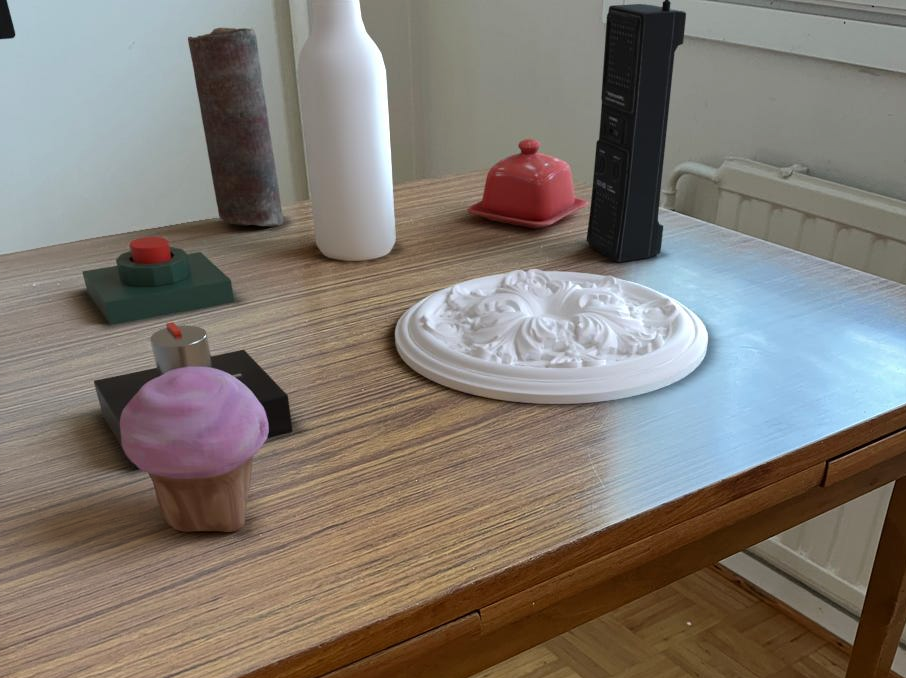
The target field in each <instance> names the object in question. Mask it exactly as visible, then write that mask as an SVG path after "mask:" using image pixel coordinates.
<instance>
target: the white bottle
mask: <svg viewBox="0 0 906 678" xmlns="http://www.w3.org/2000/svg"><path fill="white" fill-rule="evenodd" d="M298 56H299V57H298V65H297V80H298V81H297V82H298V90H299V91H298V93H299V99H300V100H299V101H300V107H301V108H300V109H301V117H302V118H301V119H302V128H303V137H304V146H305V155H306V165H307V166H306V167H307V172H308V173H307V174H308V183H309V192H310V200H311V201H310V202H311V211H312V220H313V230H314V238H315V239H314V240H315V244H316V247H317V248H318V249H319V251H320V252H321V254H322V255H323V256H325V257H327V258H330V259H333V260H338V261H339V260H340V261H345V262H347V261H348V262H354V261H355V262H359V261H360V262H361V261H368V260H369V261H370V260H374V259H378V258H381V257H384V256H386V255H388V254H389V253H390V252H391V251H392V250H393V248H394V246H395V244H396V241H397V240H396V239H397V237H396V219H395V203H394V186H393V169H392V151H391V136H390V135H391V134H390V118H389V117H390V116H389V102H388V99H389V98H388V84H387V83H388V82H387V70H386V66H385V63H384V58H383V55H382V52H381V50H380V49H379V47H378V46H377V44H376V43H375V42H374V40H373V39H372V37H370V35H369V33H368V32H367V30H366V28H365V24H364V22H363V19H362V12H361V4H360V0H312V25H311V30H310V34H309V36H308V38H307V39H306V41H305V43H304V44H303V46H302V48H301V50H300V53H299V55H298Z"/></svg>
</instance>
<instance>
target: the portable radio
mask: <svg viewBox="0 0 906 678" xmlns="http://www.w3.org/2000/svg"><path fill="white" fill-rule="evenodd" d="M671 4H672V3H671V1H670V0H664V1H662V6H659V5H654V4H645V3H632V4H631V3H630V4H617V5H616V4H615V5H610V6H609V7H608V13H607V14H606V21H605V24H606V25H605V39H604V54H603V68H602V82H601V96H600V97H601V99H600V100H601V105H600V106H601V108H600V121H599V135H598V140H597V141H596V143H595V144H596V145H595V155H594V157H595V158H594V165H593V177H592V178H593V179H592V188H591V198H590V206H589V207H590V209H589V217H588V224H587V232H586V240H585V241H586V242H587V243H588V246H590V247H591V248H592V249H594V250H595V251H597V252H599V253H601V254H602V255H605V256H606V257H608V258H609V259H611V260H613V261H614V262H617V263H624V262H630V261H637V260H643V259H648V258H652V257H654V256H657V255H659V254H661V251H662V243H663V234H664V225H663V224H661V223H660V222H659V211H660V200H661V191H662V190H661V189H662V181H663V180H662V179H663V170H664V161H665V150H666V140H667V130H668V123H669V111H670V102H671V94H672V93H671V92H672V81H673V73H674V72H673V71H674V63H675V55H676V50H677V49H678V48H679V46H681V45H683V44H684V40H685V39H684V38H685V30H686V20H687V12H686V11H684V10H678V9H673V8H671Z"/></svg>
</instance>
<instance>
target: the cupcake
mask: <svg viewBox="0 0 906 678" xmlns="http://www.w3.org/2000/svg"><path fill="white" fill-rule="evenodd" d="M120 432H121V443H122V447H123V449H124V451H123V453H124V452H125V453H124V454H125V456H126V455H127V456H126V458H127V457H128V458H129V459H130V460H131V461H132V462H133V463H134V464H135V465H136V466H137V467H138V468H139V469H138V470H141V471H143V472H146V473H147V474H148V475H149V477H150V480H151V482H152V485H153V488H154V492H155V497H156V499H157V503H158V506H159V509H160V512H161V515H162V517H163V519H164V521H165V522H166V523H167V524H168V525H169V526H170V527H171V528H173V529H174V530H177V531H180V532H222V533H223V532H224V533H230V532H232V533H233V532H236V531H239V530H241V529H242V528H243V527H244V525H245V523H246V511H247V504H248V497H249V492H250V489H251V483H252V475H253V474H252V473H253V461H254V460H253V459H254V456H255V455H256V454H257V453H258V452H259V450H261V448H262V447H263V445H264V444H265V442H266V440H267V439H268V438H267V437H268V432H269V426H268V419H267V416H266V412H265V410H264V408H263V406H262V405H261V403H260V402H259V401H258V399H257V398H256V397H255V395H254V394H253V393H252V391H251V390H250V389H249V388H248V387H247V386H245V385H244V384H243V383H242V382H240V381H239V380H238V379H237V378H235V377H234V376H232V375H230V374H228V373H226V372H224V371H221V370H218V369H214V368H210V367H184V368H179V369H174V370H171V371H169V372H166V373H165V374H163V375H161V376H159V377H157V378H155V379H152V380H151V381H149V382H147V383H146V384H144V385H143V386H142V387H141V389H140V390H139V392H138V393H137V394H136V395H135V396H134V397H133V398H132V399H131V401H130V402H129V403H128V404H127V405H126V407H125V408H124V409H123V411H122V414H121V418H120ZM123 449H122V450H123ZM128 458H127V459H128ZM129 459H128V460H129Z"/></svg>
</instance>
